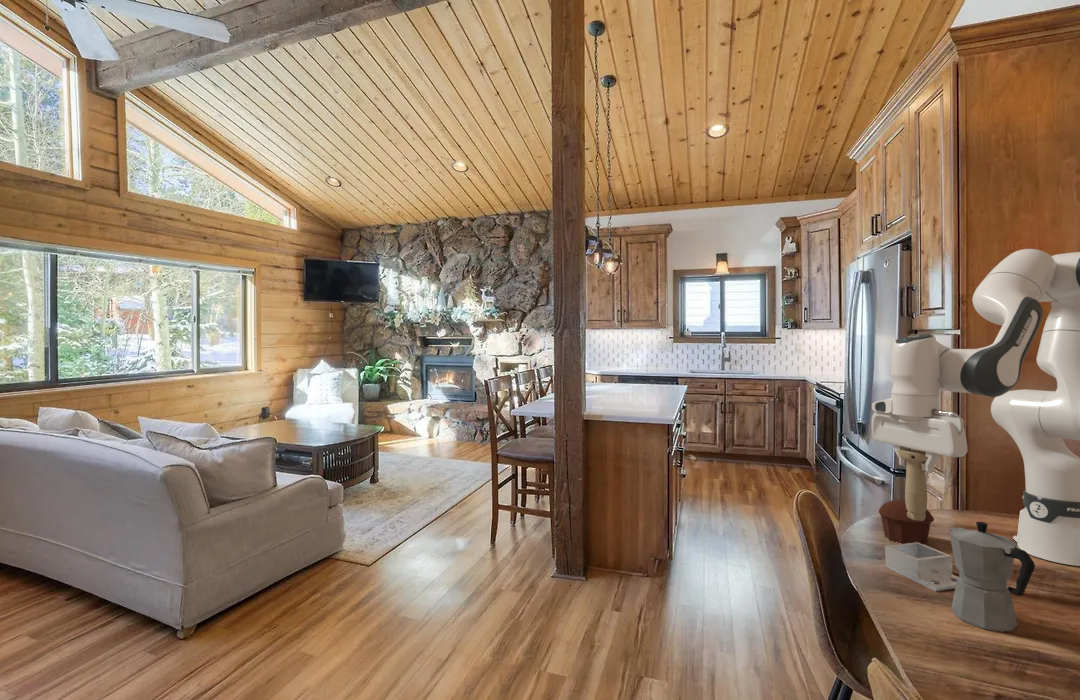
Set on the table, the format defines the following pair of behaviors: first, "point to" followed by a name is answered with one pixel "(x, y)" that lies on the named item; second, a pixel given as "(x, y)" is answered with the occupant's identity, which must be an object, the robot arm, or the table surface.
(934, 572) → the flanged open box
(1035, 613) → the table surface
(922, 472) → the handle
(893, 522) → the muffin
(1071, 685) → the table surface
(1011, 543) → the coffeepot
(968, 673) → the table surface
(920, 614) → the table surface
